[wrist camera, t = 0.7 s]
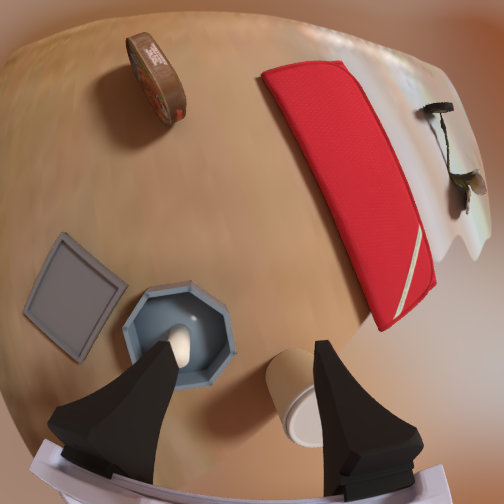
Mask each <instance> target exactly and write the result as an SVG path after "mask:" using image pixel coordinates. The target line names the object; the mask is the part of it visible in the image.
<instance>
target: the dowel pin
mask: <svg viewBox="0 0 504 504" xmlns="http://www.w3.org/2000/svg"><path fill="white" fill-rule="evenodd" d="M168 341H170V344H171V347H172V350H173V353H174V356H175V358H176V361H177V364H178V367H179V368H182V367H184V366H186V365H187V364H188V362H189V355H190V330H189V328H188V327H187V326H186V325H184V324H181V323H178V324H175V325H174V326H172V328H171V330H170V334H169V337H168Z"/></svg>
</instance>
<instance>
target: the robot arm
mask: <svg viewBox="0 0 504 504" xmlns="http://www.w3.org/2000/svg"><path fill="white" fill-rule="evenodd" d="M178 372H179V367H178V364H177V361H176V358H175V356H174V353H173V350H172V347H171V344H170V341H158V342H157V343H156V344H155V345H154V346H153V347H152V348H151V349H149V350H148V351H147V352H146V353H145V354H144V355H143V356H142V357H141V358H140V359H139V360H138V361H137V362H136V363H134V364H133V365H132V366H131V367H130V368H129V369H127V370H126V371H125V372H124V373H123V374H121V375H120V376H119V377H118V378H116V379H115V380H113V381H112V382H111V383H109V384H108V385H106V386H105V387H103V388H101V389H99V390H98V391H96V392H94V393H92V394H90V395H88V396H86V397H84V398H82V399H79V400H77V401H75V402H72V403H69V404H66V405H63V406H59V407H57V408H56V410H55V411H54V413H53V414H52V416H51V418H50V419H49V421H48V423H47V424H48V427H49V429H50V430H51V431H52V432H53V433H54V434H55V435H56V436H57V437H58V438H59V439H60V440H61V441H62V442H63V443H64V444H65V446H64V448H62V447H60V446H59V445H57V444H55V443H53V442H51V441H49V440H47V439H44V441H43V443H42V445H41V446H40V448H39V450H38V452H37V454H36V456H35V458H34V459H33V462H32V463H31V465H30V467H29V470H30V471H31V472H32V473H33V474H35V475H36V476H38V477H39V478H40V479H42V480H43V481H45V482H46V483H48V484H49V485H50V486H52V487H53V488H55V489H56V490H58V492H59V494H60V496H61V497H62V498H63V500H64V502H65V503H66V504H453V502H452V498H451V494H450V490H449V487H448V483H447V479H446V476H445V472H444V469H443V466H442V464H438V465H435V466H432V467H430V468H427V469H424V470H421V471H419V472H417V473H415V474H413V471H412V469H413V468H414V464H413V460H414V459H415V458H416V456H418V455H419V453H420V452H421V451H422V449H423V447H424V444H423V441H422V439H421V436H420V434H419V432H418V430H417V428H416V427H414V426H412V425H410V424H408V423H406V422H405V421H403V420H401V419H400V418H398V417H397V416H395V415H394V414H392V413H391V412H390V411H388V410H387V409H385V408H384V407H383V406H382V405H380V404H379V403H378V402H377V401H376V400H375V399H374V398H372V397H371V396H370V395H369V394H368V393H367V392H366V391H365V390H364V389H363V388H362V387H361V385H360V384H359V383H358V382H357V381H356V380H355V378H354V377H353V376H352V375H351V373H350V372H349V371H348V370H347V368H346V367H345V365H344V364H343V363H342V361H341V360H340V358H339V357H338V355H337V353H336V352H335V350H334V348H333V347H332V345H331V343H330V341H328V340H322V341H315V350H314V362H313V379H314V389H315V394H316V400H317V405H318V410H319V415H320V420H321V427H322V438H323V457H324V497H320V498H309V499H293V500H249V499H233V498H222V497H213V496H205V495H199V494H192V493H187V492H181V491H177V490H172V489H167V488H163V487H159V486H155V485H153V473H154V463H155V455H156V449H157V443H158V438H159V433H160V429H161V425H162V421H163V418H164V415H165V413H166V410H167V407H168V405H169V402H170V399H171V397H172V394H173V391H174V388H175V385H176V381H177V377H178Z"/></svg>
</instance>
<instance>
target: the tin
mask: <svg viewBox="0 0 504 504" xmlns="http://www.w3.org/2000/svg"><path fill="white" fill-rule="evenodd" d="M126 49H127V53H128V57H129V60H130V63H131V66H132V69H133V71H134V73H135V76H136V77H137V80H138V81H139V83H140V85H141V87H142V89H143V90H144V92H145V94H146V96H147V98H148V99H149V101H150V103H151V105H152V107H153V108H154V110H155V112H156V114H157V115H158V117H159V119H160V120H161V121H162V123H163V124H164V125H165V126H170V125H171V124H173V123H175V122H177V121H179V120H181V119H183V118H184V117H185V115H186V97H185V93H184V90H183V87H182V84H181V82H180V80H179V78H178V76H177V74H176V72H175V70H174V69H173V67H172V66H171V64H170V62H169V61H168V59H167V58H166V56H165V55H164V53H163V52H162V50H161V49H160V47H159V46H158V45H157V43H156V42H155V40H154V39H153V37H152V36H151V35H150V34H149V33H147V32H143V33H140V34H137V35H134V36H132V37H128V38H126Z"/></svg>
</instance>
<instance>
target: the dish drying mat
mask: <svg viewBox="0 0 504 504" xmlns="http://www.w3.org/2000/svg"><path fill="white" fill-rule="evenodd" d="M261 77H262V78H263V80H264V82H265V83H266V85H267V87H268V88H269V90H270V92H271V93H272V95H273V96H274V98H275V100H276V102H277V103H278V105H279V107H280V109H281V111H282V113H283V115H284V116H285V118H286V120H287V122H288V124H289V126H290V128H291V130H292V132H293V134H294V136H295V138H296V140H297V142H298V144H299V146H300V148H301V150H302V152H303V154H304V156H305V158H306V159H307V161H308V164H309V166H310V168H311V170H312V172H313V174H314V176H315V178H316V180H317V182H318V185H319V187H320V189H321V191H322V193H323V196H324V198H325V200H326V202H327V204H328V206H329V208H330V211H331V213H332V216H333V218H334V221H335V223H336V226H337V228H338V231H339V233H340V236H341V238H342V240H343V243H344V245H345V247H346V250H347V252H348V255H349V257H350V260H351V263H352V265H353V267H354V270H355V272H356V275H357V277H358V280H359V282H360V285H361V287H362V290H363V292H364V295H365V297H366V300H367V302H368V305H369V308H370V311H371V313H372V316H373V318H374V321H375V323H376V325H377V327H378V330H379V331H381V332H383V331H385V330H386V329H388V328H390V327H391V326H392V325H393V324H395V323H396V322H397V321H399V320H400V319H401V318H402V317H404V316H405V315H406V314H407V313H408V312H410V311H411V310H412V309H413V308H414V307H415V306H416V305H417V304H418V303H420V302H421V300H423V298H424V297H425V296H426V295H427V293H428V292H429V291H430V290H431V289H432V288H433V287H435V286H436V283H437V282H436V277H435V271H434V266H433V260H432V255H431V251H430V247H429V243H428V240H427V237H426V234H425V231H424V227H423V224H422V221H421V219H420V216H419V212H418V209H417V206H416V204H415V201H414V198H413V195H412V192H411V190H410V187H409V184H408V182H407V179H406V177H405V175H404V172H403V170H402V167H401V165H400V163H399V160H398V158H397V156H396V154H395V151H394V149H393V147H392V145H391V142H390V140H389V138H388V136H387V134H386V132H385V130H384V128H383V126H382V124H381V122H380V120H379V118H378V116H377V115H376V113H375V111H374V109H373V107H372V105H371V103H370V101H369V99H368V98H367V96H366V94H365V92H364V90H363V88H362V87H361V85H360V84H359V82H358V81H357V80H356V79H355V77H354V76H353V75H352V74H351V73H350V72H349V71H348V69H347V68H346V66H345V65H344V64H343V62H342V61H306V62H299V63H294V64H289V65H285V66H280V67H277V68H274V69H270V70H267V71H265V72H263V73H262V74H261Z"/></svg>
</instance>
